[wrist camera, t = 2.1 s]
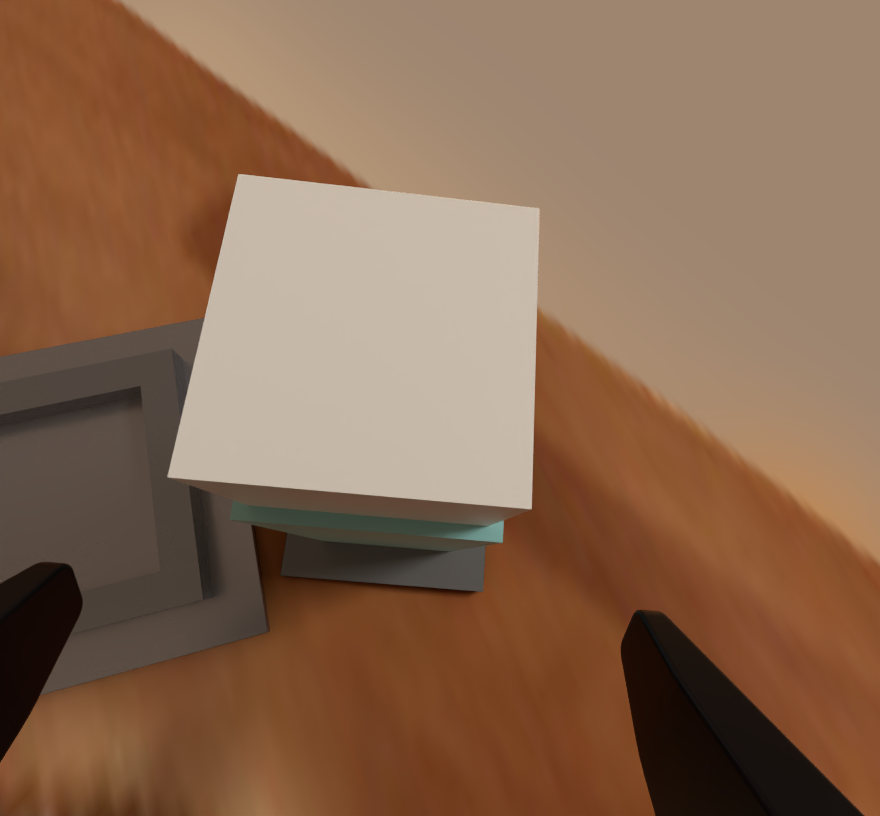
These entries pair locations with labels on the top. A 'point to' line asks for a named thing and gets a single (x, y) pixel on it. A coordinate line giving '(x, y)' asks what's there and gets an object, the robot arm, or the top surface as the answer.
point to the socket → (120, 503)
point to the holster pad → (384, 564)
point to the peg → (367, 366)
